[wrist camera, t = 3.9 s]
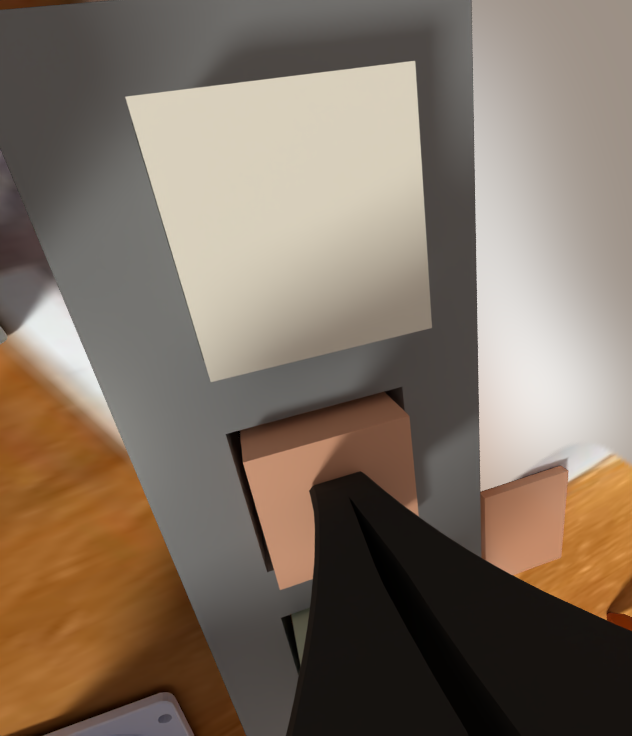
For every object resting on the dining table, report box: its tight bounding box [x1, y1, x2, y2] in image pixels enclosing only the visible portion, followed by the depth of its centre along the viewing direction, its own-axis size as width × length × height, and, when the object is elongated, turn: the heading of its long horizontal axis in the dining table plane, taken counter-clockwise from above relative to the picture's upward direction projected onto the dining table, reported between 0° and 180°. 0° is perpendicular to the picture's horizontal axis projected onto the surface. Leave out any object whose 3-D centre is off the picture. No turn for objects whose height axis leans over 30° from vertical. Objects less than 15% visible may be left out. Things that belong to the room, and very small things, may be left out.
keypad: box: [0, 0, 481, 736], centre depth 12 cm, size 21×9×3 cm, turn 10°
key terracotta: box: [240, 392, 419, 590], centre depth 11 cm, size 4×4×4 cm
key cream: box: [125, 61, 432, 382], centre depth 7 cm, size 4×4×4 cm
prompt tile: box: [480, 466, 568, 575], centre depth 17 cm, size 5×4×1 cm
